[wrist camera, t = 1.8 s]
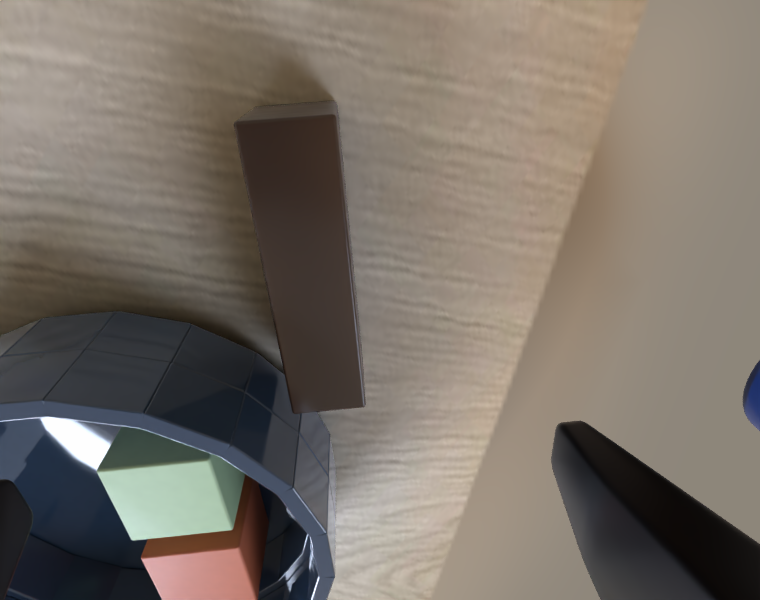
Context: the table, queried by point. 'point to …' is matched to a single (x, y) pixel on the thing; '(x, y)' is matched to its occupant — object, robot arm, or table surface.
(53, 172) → the table surface
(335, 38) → the table surface
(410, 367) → the table surface
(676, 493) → the robot arm
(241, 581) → the terracotta block
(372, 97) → the table surface
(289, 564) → the bowl
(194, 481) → the sage block
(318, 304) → the dark brown block
